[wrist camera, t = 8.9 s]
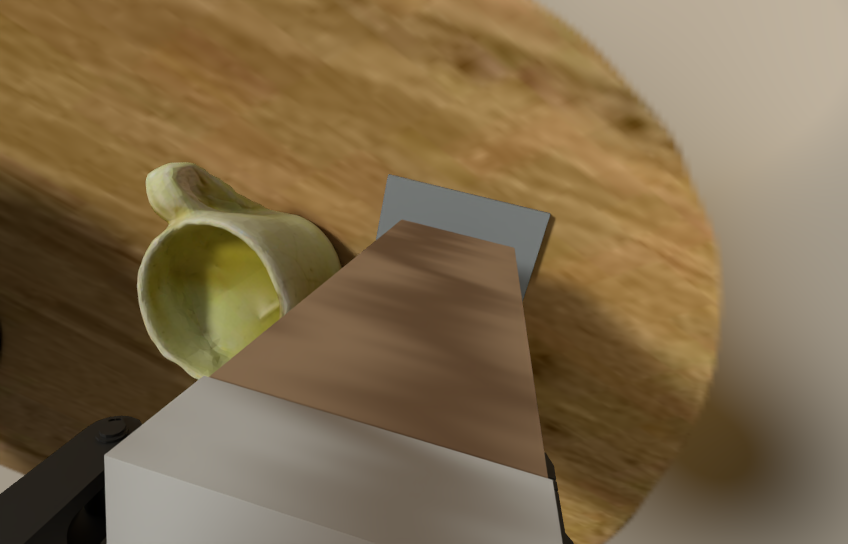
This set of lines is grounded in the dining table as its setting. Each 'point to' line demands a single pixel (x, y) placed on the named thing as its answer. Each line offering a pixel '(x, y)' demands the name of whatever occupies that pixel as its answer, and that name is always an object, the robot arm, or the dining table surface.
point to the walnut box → (357, 417)
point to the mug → (222, 268)
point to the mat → (466, 218)
